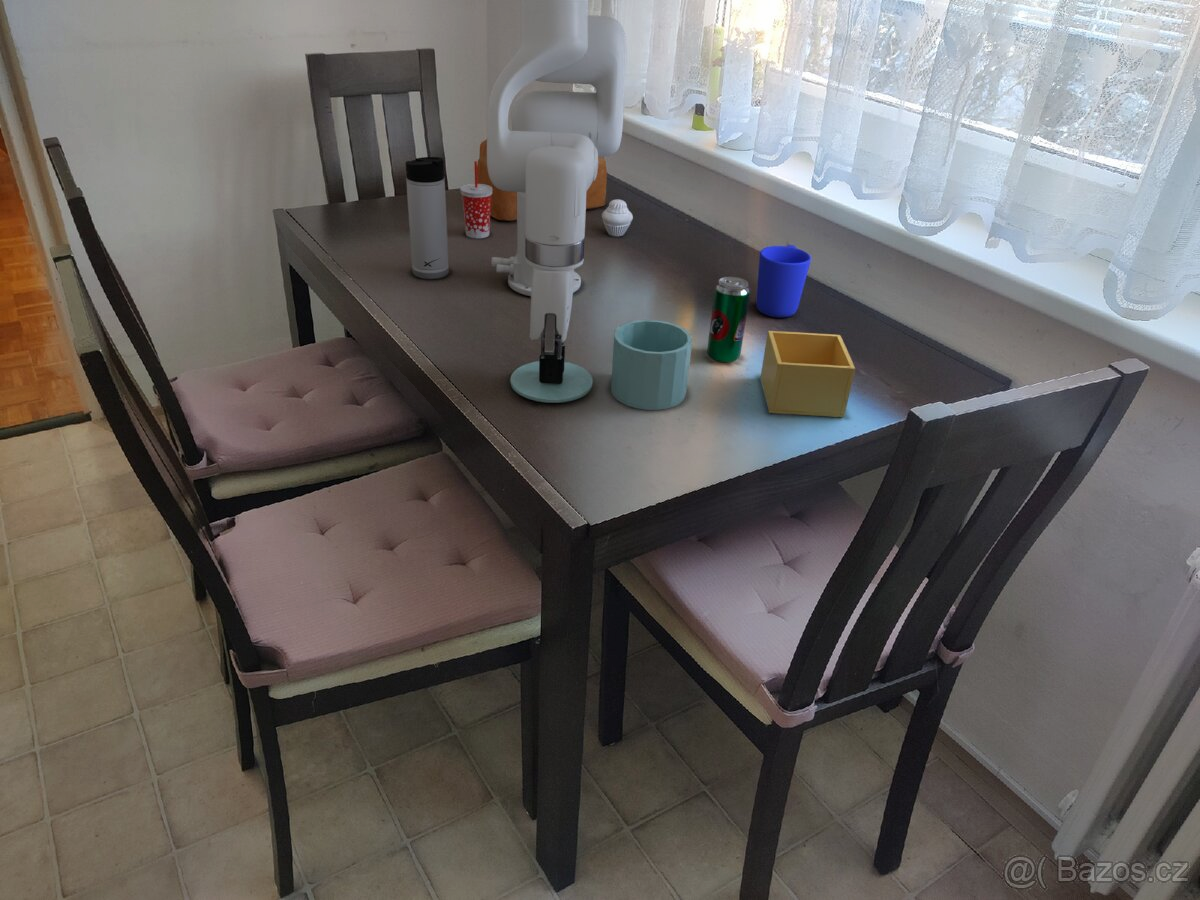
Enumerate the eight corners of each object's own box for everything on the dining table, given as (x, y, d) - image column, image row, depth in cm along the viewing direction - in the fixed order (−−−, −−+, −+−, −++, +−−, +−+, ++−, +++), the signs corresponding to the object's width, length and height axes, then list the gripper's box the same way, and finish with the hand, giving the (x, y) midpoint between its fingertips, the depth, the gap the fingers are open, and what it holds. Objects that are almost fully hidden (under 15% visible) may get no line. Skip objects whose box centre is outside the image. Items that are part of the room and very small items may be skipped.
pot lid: (505, 404, 120) (505, 366, 117) (515, 364, 129) (515, 329, 126) (590, 409, 120) (592, 372, 117) (593, 369, 129) (595, 334, 126)
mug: (807, 298, 155) (817, 243, 150) (796, 325, 146) (807, 267, 140) (760, 290, 157) (769, 235, 152) (747, 316, 148) (755, 258, 142)
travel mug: (434, 283, 153) (427, 164, 142) (405, 273, 156) (396, 157, 145) (457, 272, 157) (453, 157, 146) (429, 263, 160) (422, 149, 149)
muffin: (597, 236, 176) (599, 201, 172) (604, 227, 181) (606, 192, 178) (628, 240, 175) (630, 205, 171) (634, 230, 180) (636, 196, 176)
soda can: (738, 366, 132) (750, 291, 126) (704, 362, 133) (714, 286, 126) (741, 352, 136) (752, 277, 130) (708, 347, 137) (717, 273, 131)
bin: (769, 413, 121) (777, 363, 117) (760, 377, 130) (768, 330, 126) (844, 417, 121) (855, 368, 117) (830, 381, 130) (840, 334, 126)
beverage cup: (497, 238, 173) (496, 165, 165) (466, 241, 171) (463, 167, 163) (488, 227, 177) (486, 156, 170) (458, 230, 175) (455, 158, 168)
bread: (611, 208, 191) (615, 132, 183) (501, 225, 179) (501, 144, 170) (578, 190, 201) (581, 117, 192) (472, 205, 189) (469, 128, 180)
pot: (610, 407, 120) (613, 351, 116) (611, 371, 129) (615, 317, 124) (687, 412, 120) (693, 355, 116) (683, 375, 129) (689, 321, 124)
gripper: (531, 227, 121) (530, 349, 130) (518, 271, 107) (518, 404, 117) (586, 230, 121) (581, 352, 130) (580, 274, 107) (575, 407, 117)
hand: (551, 376), depth 124 cm, fingers closed on pot lid, 2 cm apart
